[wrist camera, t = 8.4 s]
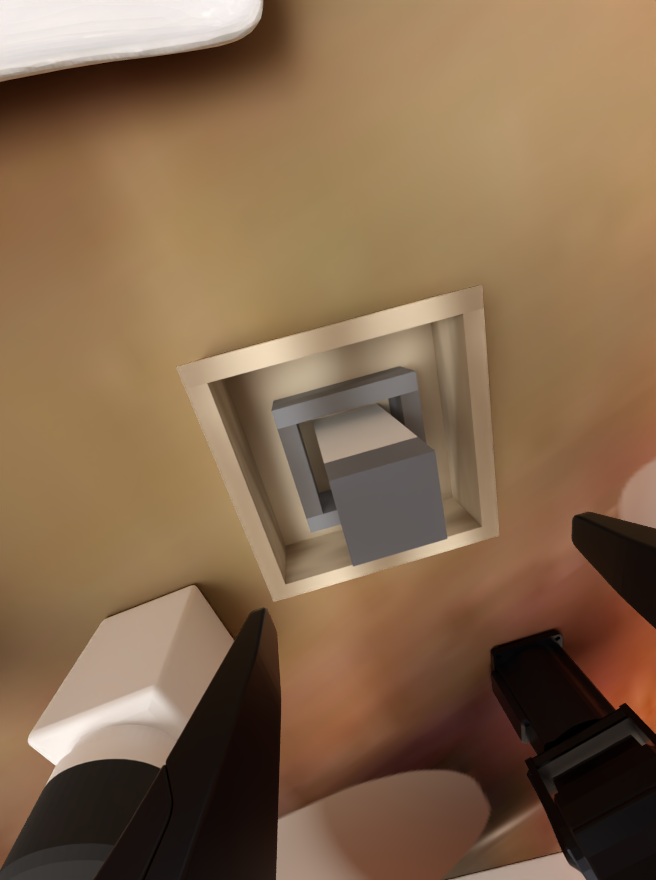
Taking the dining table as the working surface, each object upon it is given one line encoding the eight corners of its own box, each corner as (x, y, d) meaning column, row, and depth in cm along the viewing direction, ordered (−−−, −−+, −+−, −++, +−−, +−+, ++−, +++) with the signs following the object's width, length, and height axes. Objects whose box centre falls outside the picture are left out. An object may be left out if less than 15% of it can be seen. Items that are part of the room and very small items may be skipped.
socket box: (441, 294, 18) (482, 284, 14) (464, 502, 22) (499, 535, 19) (199, 359, 17) (175, 366, 14) (276, 557, 22) (273, 602, 18)
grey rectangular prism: (376, 403, 19) (435, 450, 11) (388, 461, 20) (447, 538, 13) (312, 421, 19) (328, 481, 11) (328, 479, 20) (353, 566, 13)
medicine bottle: (101, 617, 22) (-95, 918, 11) (196, 581, 22) (98, 844, 11) (156, 679, 24) (43, 976, 13) (240, 646, 24) (200, 916, 13)
